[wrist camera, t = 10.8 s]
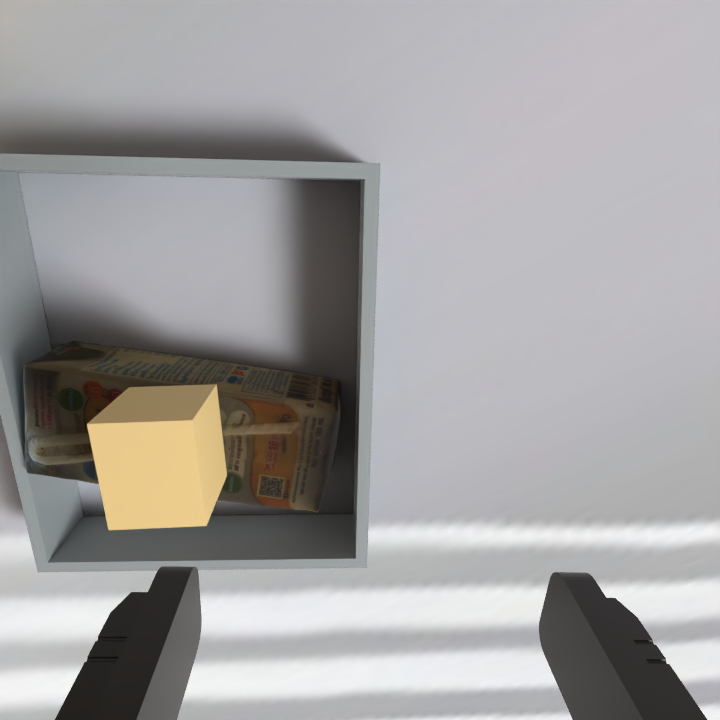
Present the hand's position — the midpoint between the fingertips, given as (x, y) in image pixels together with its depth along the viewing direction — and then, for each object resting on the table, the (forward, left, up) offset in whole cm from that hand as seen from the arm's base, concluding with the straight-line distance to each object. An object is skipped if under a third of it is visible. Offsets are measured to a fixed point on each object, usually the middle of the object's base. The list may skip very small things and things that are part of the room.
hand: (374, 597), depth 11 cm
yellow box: (+5, -10, -18) cm, 21 cm away
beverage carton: (+6, -10, -25) cm, 28 cm away
